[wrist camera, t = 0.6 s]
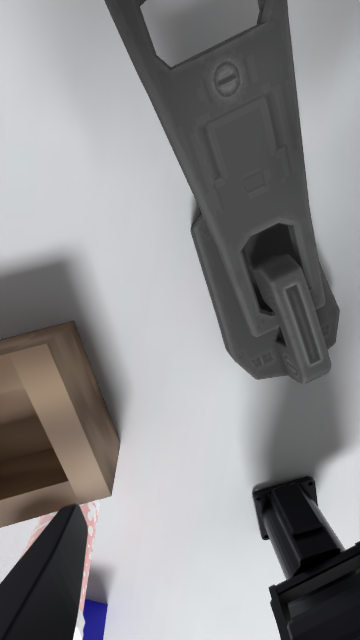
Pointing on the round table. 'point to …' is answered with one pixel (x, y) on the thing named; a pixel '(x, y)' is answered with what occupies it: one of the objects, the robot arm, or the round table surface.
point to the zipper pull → (245, 189)
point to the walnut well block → (51, 426)
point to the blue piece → (94, 620)
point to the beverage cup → (91, 517)
